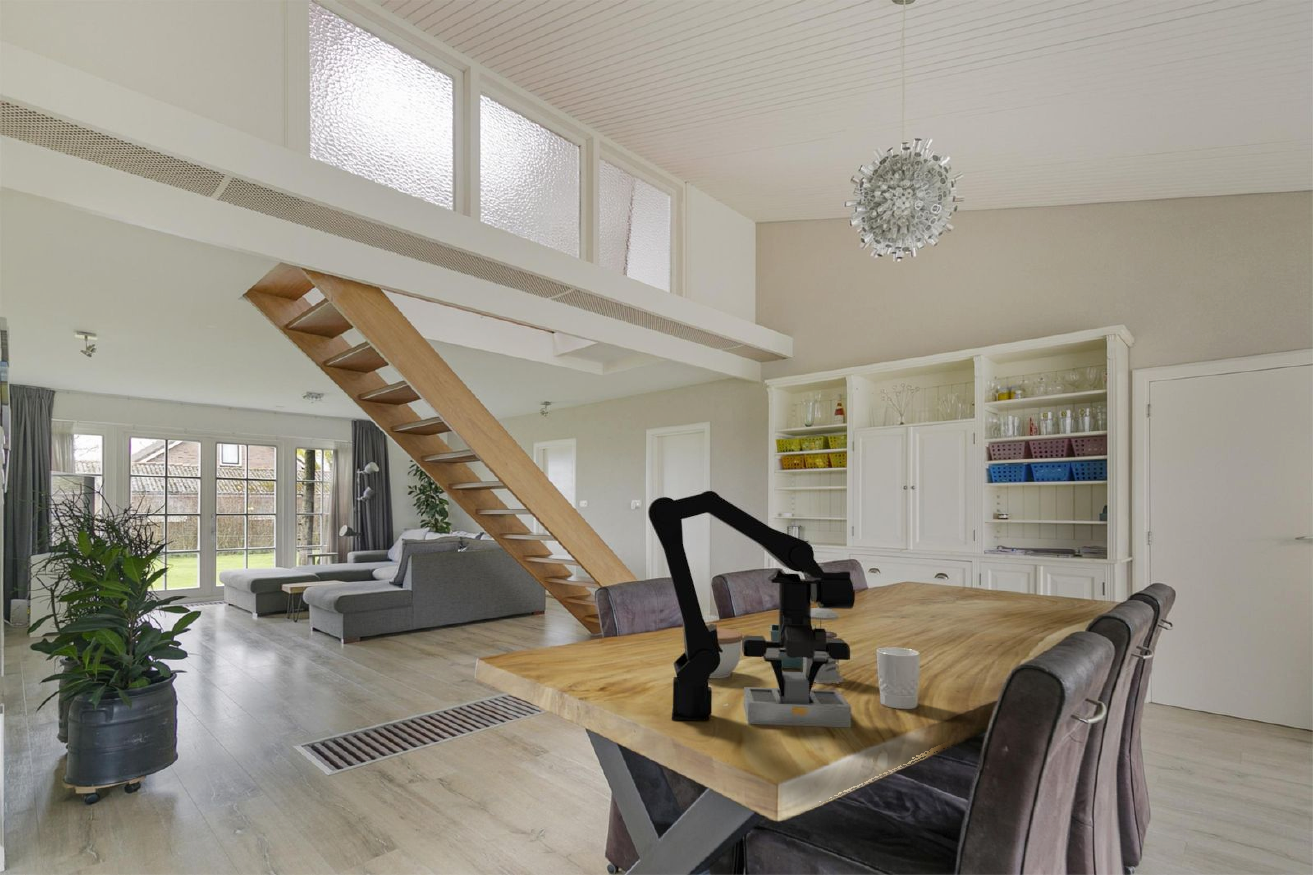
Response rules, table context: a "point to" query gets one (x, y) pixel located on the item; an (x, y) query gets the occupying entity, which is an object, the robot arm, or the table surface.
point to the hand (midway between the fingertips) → (794, 696)
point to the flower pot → (786, 661)
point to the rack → (796, 708)
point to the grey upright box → (795, 687)
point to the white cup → (898, 677)
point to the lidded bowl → (727, 652)
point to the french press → (828, 671)
